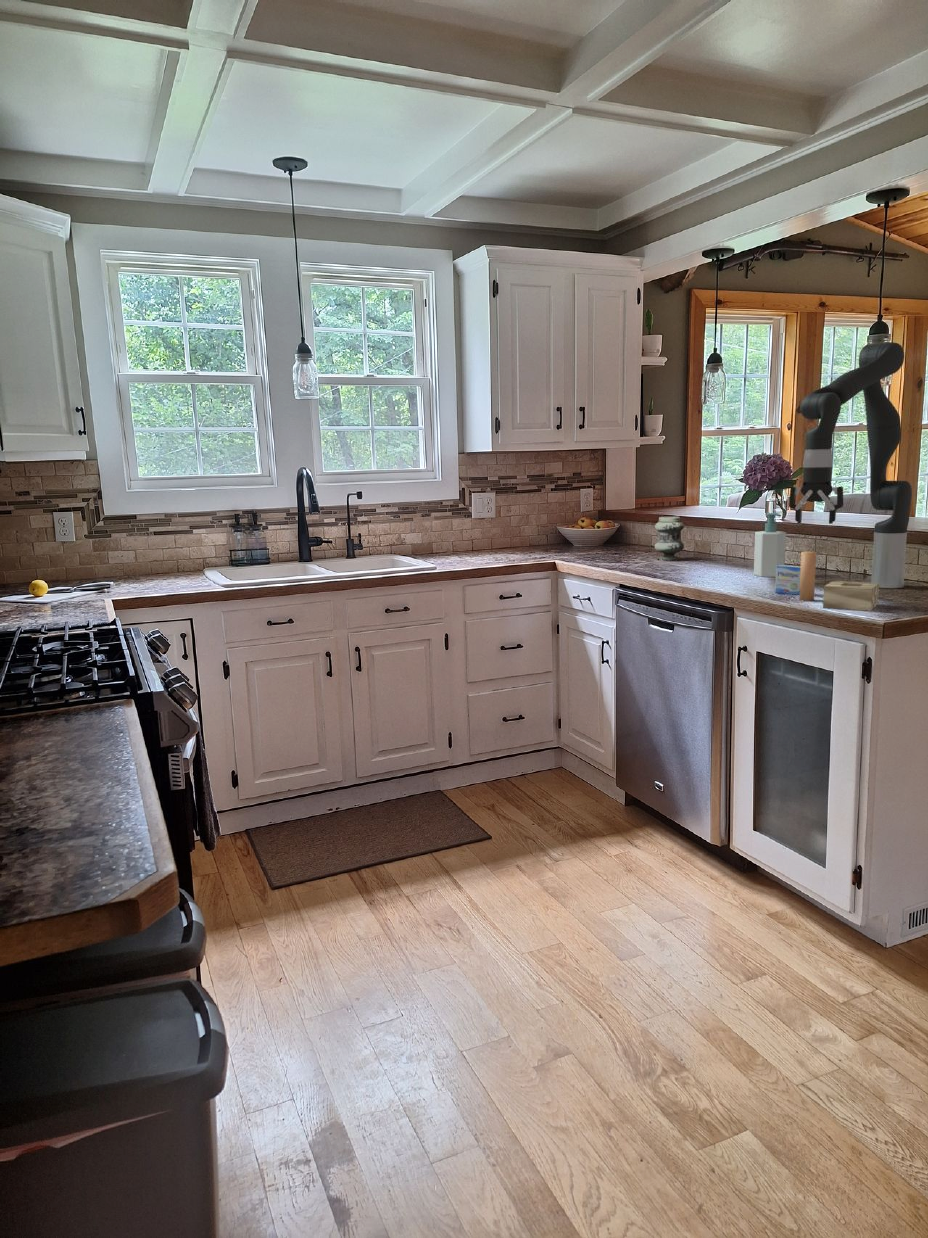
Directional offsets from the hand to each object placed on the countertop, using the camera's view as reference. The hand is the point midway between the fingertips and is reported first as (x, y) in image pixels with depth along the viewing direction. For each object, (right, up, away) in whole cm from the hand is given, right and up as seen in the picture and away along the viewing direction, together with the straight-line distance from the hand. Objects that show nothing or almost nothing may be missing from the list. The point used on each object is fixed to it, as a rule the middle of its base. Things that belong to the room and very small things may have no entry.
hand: (814, 523), depth 244 cm
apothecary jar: (-14, -3, +115) cm, 116 cm away
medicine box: (0, -20, +17) cm, 26 cm away
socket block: (+7, -24, -7) cm, 26 cm away
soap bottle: (+8, -12, +59) cm, 61 cm away
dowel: (0, -22, +5) cm, 22 cm away
